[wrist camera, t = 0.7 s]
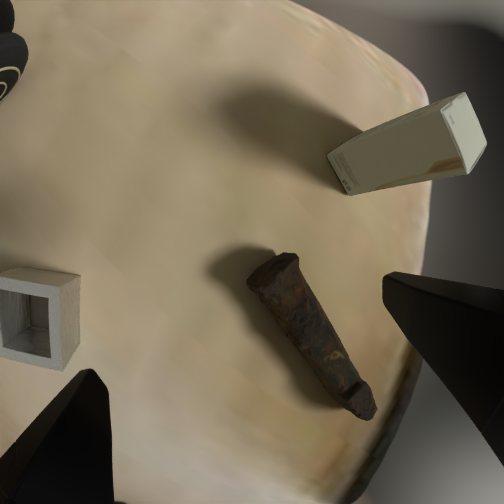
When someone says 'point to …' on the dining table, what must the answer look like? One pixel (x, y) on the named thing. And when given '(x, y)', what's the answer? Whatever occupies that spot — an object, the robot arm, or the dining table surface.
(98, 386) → the robot arm
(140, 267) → the dining table surface
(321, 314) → the hand tool
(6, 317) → the square hollow container
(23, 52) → the headphones
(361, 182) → the skincare box
